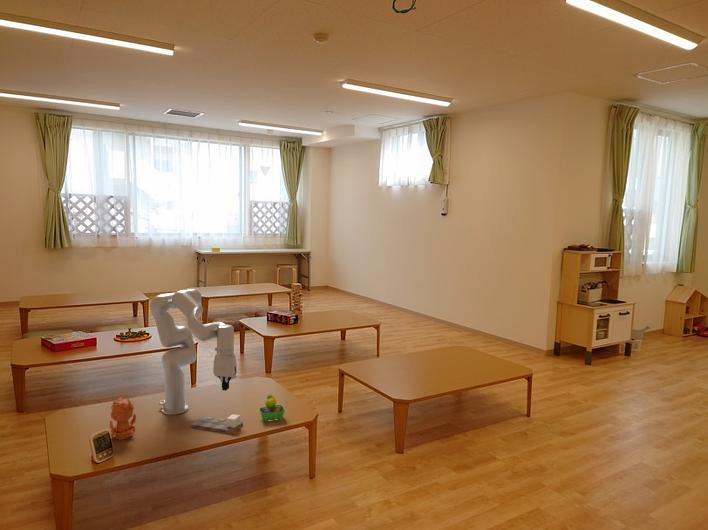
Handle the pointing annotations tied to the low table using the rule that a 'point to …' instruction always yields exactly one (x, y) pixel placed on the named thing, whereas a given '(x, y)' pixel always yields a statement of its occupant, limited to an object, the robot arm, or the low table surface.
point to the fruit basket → (271, 409)
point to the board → (214, 424)
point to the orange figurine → (122, 419)
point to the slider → (233, 420)
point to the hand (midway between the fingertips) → (225, 389)
